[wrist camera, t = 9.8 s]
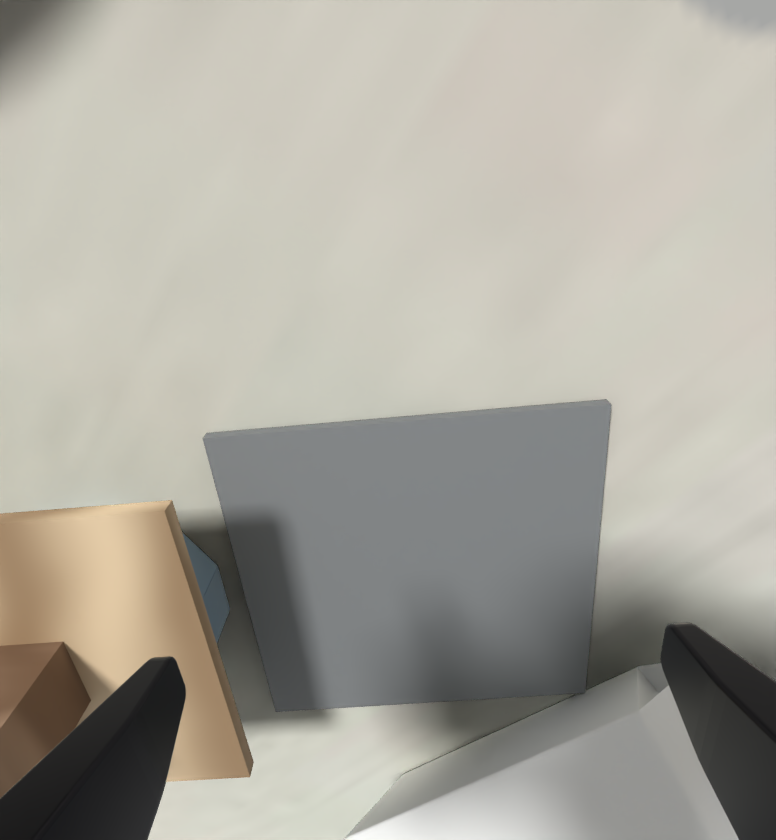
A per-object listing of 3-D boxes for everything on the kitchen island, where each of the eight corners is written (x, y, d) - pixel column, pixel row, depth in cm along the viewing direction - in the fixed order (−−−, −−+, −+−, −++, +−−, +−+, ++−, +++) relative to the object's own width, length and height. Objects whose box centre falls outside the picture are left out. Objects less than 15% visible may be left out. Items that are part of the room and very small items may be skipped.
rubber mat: (606, 399, 20) (611, 404, 20) (581, 684, 27) (585, 693, 26) (206, 433, 21) (202, 438, 20) (277, 703, 27) (276, 711, 27)
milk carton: (399, 775, 30) (712, 631, 25) (459, 919, 27) (822, 789, 22) (338, 841, 24) (740, 666, 19) (408, 1037, 21) (898, 893, 16)
